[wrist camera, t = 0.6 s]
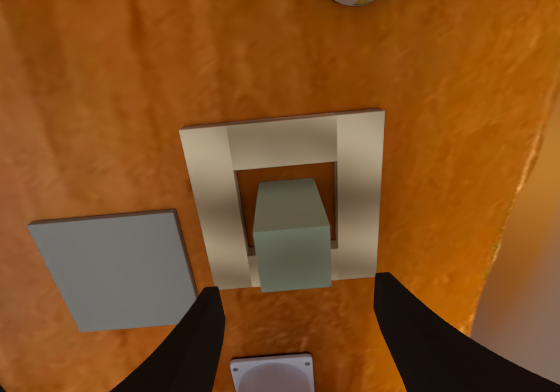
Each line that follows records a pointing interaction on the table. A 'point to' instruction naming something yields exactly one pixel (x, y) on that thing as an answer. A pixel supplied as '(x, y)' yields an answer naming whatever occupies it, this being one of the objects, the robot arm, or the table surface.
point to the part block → (291, 236)
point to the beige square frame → (283, 152)
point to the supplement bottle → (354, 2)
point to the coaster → (119, 268)
